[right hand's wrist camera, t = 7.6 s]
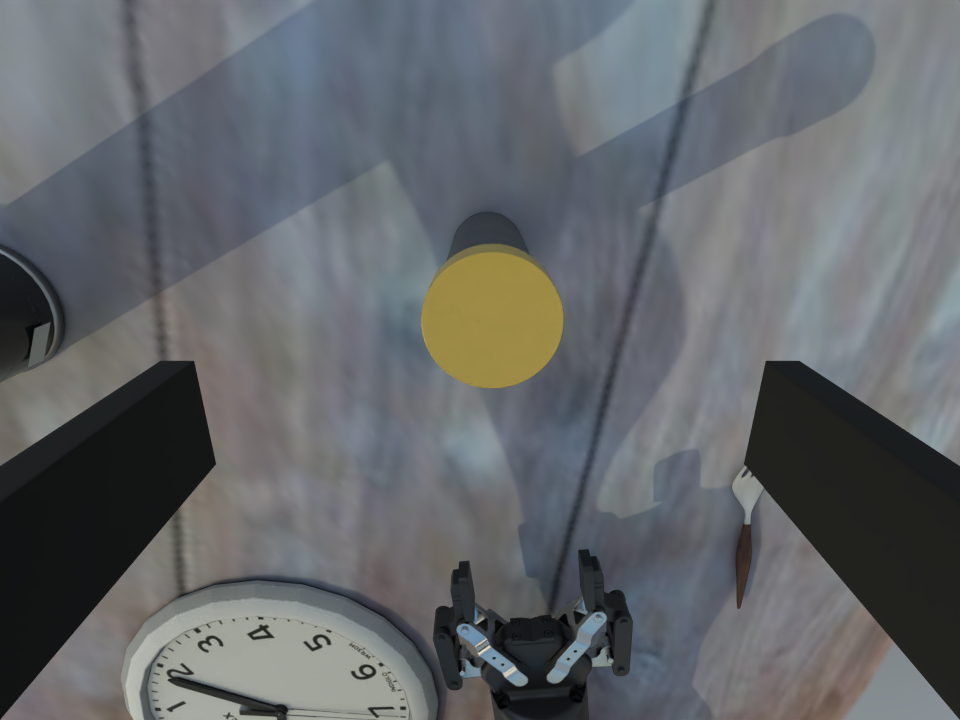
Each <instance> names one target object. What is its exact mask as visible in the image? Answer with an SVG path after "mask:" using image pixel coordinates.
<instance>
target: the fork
mask: <svg viewBox="0 0 960 720" xmlns="http://www.w3.org/2000/svg"><path fill="white" fill-rule="evenodd" d="M746 468H747V467H746V466H744V467H743V468H742V469H741V471H740V472H739V473H738V475H737V476H736V478H735V480H734V481H733V484H732V490H733V492H734V494H735V496H736V498H737V499H738V501H739V502H740V504H741V505H742V507H743V508H744V511H745V518H744V523H743V527H742V531H741V535H740V539H739V543H738V547H737V552H736V576H737V608H738V609H740V607H741V603H742V599H743V595H744V590H745V585H746V581H747V577H748V573H749V568H750V564H751V553H752V551H751V523H750V519H751V512H752V509H753V507H754V505H755V503H756V501H757V499H758V498H759V496H760V494H761V492H762V490H763V488H764V487H763V486H762V485H761V484H760V482H759V481H758V480H757V479H756V478H755V476H752V477H751V475H752V473H751V472H750V471H749V472H748V473H747V474H746V475H745V476H744V477H742V475H743V473H744V471H745V470H746Z"/></svg>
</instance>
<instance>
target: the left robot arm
mask: <svg viewBox="0 0 960 720" xmlns="http://www.w3.org/2000/svg"><path fill="white" fill-rule="evenodd" d="M63 332H64V319H63V313H62V309H61V306H60V303H59V300H58V298H57V296H56V294H55V292H54V290H53V289H52V287H51V286H50V284H49V283H48V281H47V280H46V279H45V277H44V276H43V275H42V274H41V273H40V272H39V271H38V270H37V269H36V268H35V267H34V266H33V265H32V264H31V263H30V262H28V261H27V260H26V259H25V258H23V257H22V256H20V255H19V254H17V253H15V252H14V251H12V250H10V249H8V248H6V247H4V246H1V245H0V383H1V382H3V381H5V380H7V379H9V378H11V377H13V376H15V375H17V374H19V373H22V372H26V371H28V370H31V369H33V368H35V367H37V366H39V365H41V364H43V363H45V362H46V361H48V360H49V359H50V358H51V357H52V356H53V355H54V354H55V353H56V351H57V350H58V348H59V346H60V344H61V341H62V338H63ZM578 557H579V573H580V587H581V591H582V593H581V594H580V595H579V596H578V598H577V599H576V600H575V601H574V602H573V603H572V602H568V603H567V604H566V605H565V606H564V607H563V609H562V610H561V611H560V612H559V613H558V614H557V616H556V617H555V618H551V615H543V616H538V617H535V618H531V619H529V618H510V622H507V621H505V620H504V619H503V618H502V617H500V616H499V615H498V614H497V613H495V612H494V611H493V610H491V609H488V610H485V609H483V608H482V607H481V606H480V605H478V604H477V603H476V602H475V594H474V587H473V581H472V575H471V569H470V563H469V561H460V562H459V569H456V570H453V572H452V576H451V596H452V601H453V607H451V608H449V607H447V606H440V607H438V608H437V609H436V613H435V623H434V634H433V641H434V645H435V648H436V652H437V655H438V658H439V662H440V665H441V669H442V672H443V675H444V679H445V682H446V686H447V688H449V689H450V690H459V689H460V688H461V687H462V680H463V679H464V678H472V677H480V676H482V678H483V679H484V681H485V682H487V684H488V685H489V687H490V692H491V698H492V704H493V711H494V717H495V720H589V714H588V697H587V681H586V679H587V676H588V674H589V673H590V671H591V669H592V667H604V666H612V669H613V673H614V674H615V675H617V676H624V675H626V674H628V673H629V670H630V655H631V640H632V626H633V621H632V618H631V615H630V613H629V611H628V607H627V604H626V599H625V596H624V593H623V592H622V591H620V590H613V591H611V592H610V593H605V592H604V583H603V582H604V581H603V573H602V570H601V566H600V563H599V560H598V559H597V557H596V556H591V557H590V554H589V550H588V549H584V550H578ZM606 621H607V631H606V632H602V633H601V638H600V639H599V641H598V644H597V645H596V646H595V647H592V648H589V647H590V645H591V640H592V636H593V635H594V634H595V633H596V632H597V631H598V629H599V628H600V627H601V626H602V625H603V624H604V623H605V622H606ZM458 634H459V635H460V636H461V637H463V638H464V639H465V640H467V641H468V642H469V643H471V644H472V645H473V646H474V647H475V648H476V651H477V653H478V655H479V656H480V657H474V656H472V655H471V653H470V651H469V650H467V649H466V645H465V644H461V645H460V642H459V638H458Z"/></svg>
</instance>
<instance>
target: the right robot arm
mask: <svg viewBox="0 0 960 720" xmlns="http://www.w3.org/2000/svg"><path fill="white" fill-rule="evenodd" d="M215 465H216V462H215V457H214V452H213V448H212V443H211V438H210V434H209V429H208V424H207V419H206V415H205V410H204V405H203V401H202V396H201V391H200V387H199V382H198V377H197V373H196V368H195V363H194V361H160V362H158V363H157V364H155V365H154V366H152V367H151V368H149V369H148V370H146V371H145V372H143V373H142V374H140V375H138V376H137V377H135V378H134V379H132V380H131V381H129V382H128V383H126V384H125V385H123V386H122V387H120V388H119V389H117V390H116V391H114V392H113V393H111V394H110V395H108V396H106V397H105V398H103V399H102V400H100V401H99V402H97V403H96V404H94V405H93V406H91V407H90V408H88V409H87V410H85V411H84V412H82V413H81V414H79V415H77V416H76V417H74V418H73V419H71V420H70V421H68V422H67V423H65V424H64V425H62V426H61V427H59V428H58V429H56V430H55V431H53V432H52V433H50V434H49V435H47V436H45V437H44V438H42V439H41V440H39V441H38V442H36V443H35V444H33V445H32V446H30V447H29V448H27V449H26V450H24V451H23V452H21V453H20V454H18V455H17V456H15V457H13V458H12V459H10V460H9V461H7V462H6V463H4V464H3V465H1V466H0V719H1V718H2V717H3V716H4V715H5V713H6V712H7V711H8V710H9V709H10V707H11V706H12V705H13V704H14V703H15V701H16V700H17V699H18V698H19V697H20V696H21V694H22V693H23V692H24V691H25V690H26V688H27V687H28V686H29V685H30V684H31V683H32V681H33V680H34V679H35V678H36V677H37V675H38V674H39V673H40V672H41V671H42V670H43V668H44V667H45V666H46V665H47V664H48V662H49V661H50V660H51V659H52V658H53V656H54V655H55V654H56V653H57V652H58V651H59V649H60V648H61V647H62V646H63V645H64V643H65V642H66V641H67V640H68V639H69V638H70V636H71V635H72V634H73V633H74V632H75V630H76V629H77V628H78V627H79V626H80V625H81V623H82V622H83V621H84V620H85V619H86V617H87V616H88V615H89V614H90V613H91V611H92V610H93V609H94V608H95V607H96V606H97V604H98V603H99V602H100V601H101V600H102V598H103V597H104V596H105V595H106V594H107V593H108V591H109V590H110V589H111V588H112V587H113V585H114V584H115V583H116V582H117V581H118V580H119V578H120V577H121V576H122V575H123V574H124V572H125V571H126V570H127V569H128V568H129V566H130V565H131V564H132V563H133V562H134V561H135V559H136V558H137V557H138V556H139V555H140V553H141V552H142V551H143V550H144V549H145V548H146V546H147V545H148V544H149V543H150V542H151V540H152V539H153V538H154V537H155V536H156V535H157V533H158V532H159V531H160V530H161V529H162V527H163V526H164V525H165V524H166V523H167V521H168V520H169V519H170V518H171V517H172V516H173V514H174V513H175V512H176V511H177V510H178V508H179V507H180V506H181V505H182V504H183V503H184V501H185V500H186V499H187V498H188V497H189V495H190V494H191V493H192V492H193V491H194V490H195V488H196V487H197V486H198V485H199V484H200V482H201V481H202V480H203V479H204V478H205V476H206V475H207V474H208V473H209V472H210V471H211V469H212V468H213V467H214V466H215ZM744 465H745V466H746V467H747V468H748V469H749V471H750V472H751V473H752V474H753V475H754V476H755V478H756V479H757V480H758V481H759V482H760V484H761V485H762V486H763V487H764V488H765V490H766V491H767V492H768V493H769V494H770V495H771V497H772V498H773V499H774V500H775V501H776V503H777V504H778V505H779V506H780V507H781V508H782V510H783V511H784V512H785V513H786V514H787V516H788V517H789V518H790V519H791V520H792V521H793V523H794V524H795V525H796V526H797V527H798V529H799V530H800V531H801V532H802V533H803V535H804V536H805V537H806V538H807V539H808V540H809V542H810V543H811V544H812V545H813V546H814V548H815V549H816V550H817V551H818V552H819V553H820V555H821V556H822V557H823V558H824V559H825V561H826V562H827V563H828V564H829V565H830V566H831V568H832V569H833V570H834V571H835V572H836V574H837V575H838V576H839V577H840V578H841V580H842V581H843V582H844V583H845V584H846V585H847V587H848V588H849V589H850V590H851V591H852V593H853V594H854V595H855V596H856V597H857V598H858V600H859V601H860V602H861V603H862V604H863V606H864V607H865V608H866V609H867V610H868V611H869V613H870V614H871V615H872V616H873V617H874V619H875V620H876V621H877V622H878V623H879V625H880V626H881V627H882V628H883V629H884V630H885V632H886V633H887V634H888V635H889V636H890V638H891V639H892V640H893V641H894V642H895V643H896V645H897V646H898V647H899V648H900V649H901V651H902V652H903V653H904V654H905V655H906V656H907V658H908V659H909V660H910V661H911V662H912V664H913V665H914V666H915V667H916V668H917V670H918V671H919V672H920V673H921V674H922V675H923V677H924V678H925V679H926V680H927V681H928V683H929V684H930V685H931V686H932V687H933V688H934V690H935V691H936V692H937V693H938V694H939V695H940V697H941V698H942V699H943V700H944V701H945V703H946V704H947V705H948V706H949V707H950V709H951V710H952V711H953V712H954V713H955V714H956V716H957V717H958V718H959V719H960V466H959V465H957V464H956V463H954V462H953V461H951V460H950V459H948V458H947V457H945V456H943V455H942V454H940V453H939V452H937V451H936V450H934V449H933V448H931V447H930V446H928V445H927V444H925V443H924V442H922V441H921V440H919V439H918V438H916V437H915V436H913V435H911V434H910V433H908V432H907V431H905V430H904V429H902V428H901V427H899V426H898V425H896V424H895V423H893V422H892V421H890V420H889V419H887V418H886V417H884V416H883V415H881V414H879V413H878V412H876V411H875V410H873V409H872V408H870V407H869V406H867V405H866V404H864V403H863V402H861V401H860V400H858V399H857V398H855V397H854V396H852V395H850V394H849V393H847V392H846V391H844V390H843V389H841V388H840V387H838V386H837V385H835V384H834V383H832V382H831V381H829V380H828V379H826V378H825V377H823V376H822V375H820V374H818V373H817V372H815V371H814V370H812V369H811V368H809V367H808V366H806V365H805V364H803V363H802V362H800V361H766V363H765V368H764V373H763V377H762V382H761V387H760V391H759V396H758V401H757V405H756V410H755V415H754V419H753V424H752V429H751V434H750V438H749V443H748V448H747V452H746V457H745V462H744Z"/></svg>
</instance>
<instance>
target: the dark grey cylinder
mask: <svg viewBox="0 0 960 720" xmlns="http://www.w3.org/2000/svg"><path fill="white" fill-rule="evenodd" d="M482 244H502V245H508V246H511V247H514V248H517V249H520V250H522V251H524V252H526V253H527V254H529V252H528V249H527V247H526V245H525V243H524V241H523V239H522V237H521V234H520V232H519V230H518V229H517V227H516V226H515V225H514V223H513V222H512V221H510V220H509V219H508V218H506V217H505V216H503V215H500V214H497V213H492V212H484V213H478V214H476V215H473V216H471V217H469V218H468V219H466V220H465V221H464V222H463V223H462V224H461V225H460V227H459V228H458V230H457V231H456V233H455V236H454V239H453V242H452V245H451V249H450V252H449V255H448V258H447V261H448V260H449V259H450V258H451V257H453V256H454V255H456V254H457V253H459V252H461V251H463V250H465V249H467V248H470V247H473V246H477V245H482ZM529 255H530V254H529Z"/></svg>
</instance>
